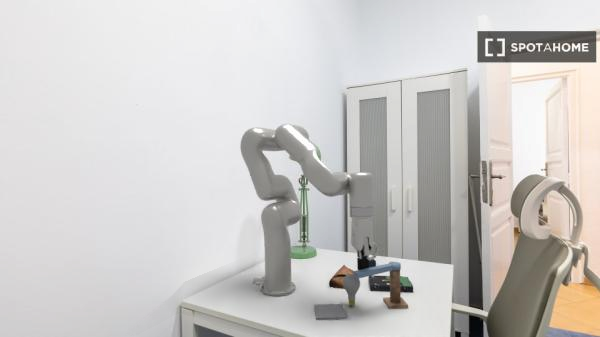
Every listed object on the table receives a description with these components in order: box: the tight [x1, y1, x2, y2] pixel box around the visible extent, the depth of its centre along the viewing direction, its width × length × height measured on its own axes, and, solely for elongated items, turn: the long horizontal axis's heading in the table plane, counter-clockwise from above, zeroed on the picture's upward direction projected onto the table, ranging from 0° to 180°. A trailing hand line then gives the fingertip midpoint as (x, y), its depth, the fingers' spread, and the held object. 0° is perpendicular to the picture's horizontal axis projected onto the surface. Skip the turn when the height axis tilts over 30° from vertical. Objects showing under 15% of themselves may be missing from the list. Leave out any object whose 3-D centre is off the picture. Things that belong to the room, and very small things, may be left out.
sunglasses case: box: [328, 264, 354, 290], centre depth 122 cm, size 18×7×7 cm
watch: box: [369, 241, 379, 268], centre depth 138 cm, size 6×8×11 cm
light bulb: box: [343, 274, 361, 307], centre depth 100 cm, size 6×6×10 cm
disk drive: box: [368, 274, 414, 294], centre depth 115 cm, size 10×3×15 cm
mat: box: [313, 303, 348, 321], centre depth 95 cm, size 9×9×1 cm
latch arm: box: [353, 261, 402, 280], centre depth 97 cm, size 18×4×2 cm, turn 119°
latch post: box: [382, 269, 409, 310], centre depth 100 cm, size 6×6×11 cm
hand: (363, 270), depth 97 cm, fingers closed
